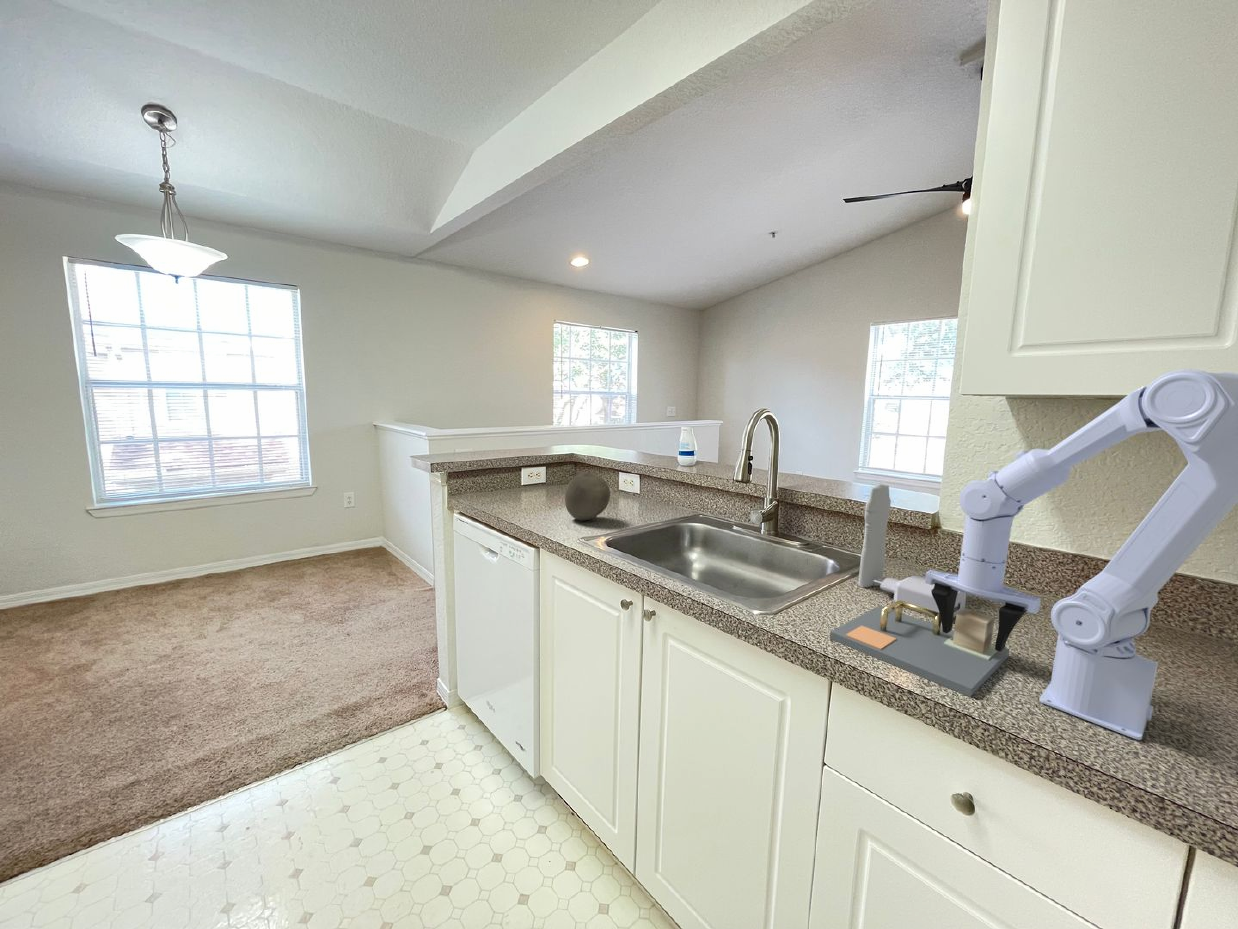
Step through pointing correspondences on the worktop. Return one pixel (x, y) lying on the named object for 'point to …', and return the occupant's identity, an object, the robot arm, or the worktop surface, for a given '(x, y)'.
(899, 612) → the brass corner pipe rail
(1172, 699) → the worktop surface
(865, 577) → the grey tall flat piece
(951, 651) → the board
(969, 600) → the worktop surface
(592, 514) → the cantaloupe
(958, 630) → the block
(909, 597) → the charger
